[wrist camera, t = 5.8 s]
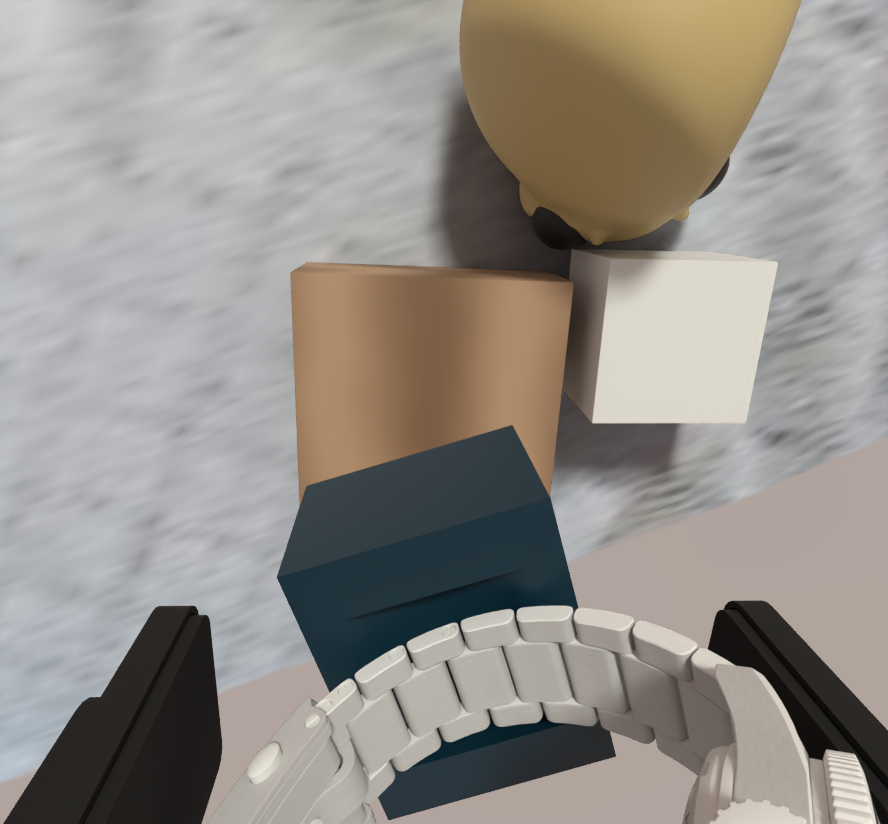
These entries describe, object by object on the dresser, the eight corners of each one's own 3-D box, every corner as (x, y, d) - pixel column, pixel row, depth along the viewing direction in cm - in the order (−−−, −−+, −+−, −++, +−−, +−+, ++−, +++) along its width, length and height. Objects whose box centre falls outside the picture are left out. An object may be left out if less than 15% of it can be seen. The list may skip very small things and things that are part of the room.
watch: (651, 614, 14) (1441, 1894, 3) (317, 709, 14) (84, 2196, 4) (606, 392, 12) (2110, 1751, 1) (221, 506, 12) (-892, 2419, 2)
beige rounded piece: (458, 145, 27) (532, 346, 23) (389, -202, 16) (508, 71, 12) (673, 71, 26) (788, 265, 22) (759, -346, 15) (1025, -112, 11)
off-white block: (558, 385, 27) (592, 423, 22) (570, 248, 25) (610, 258, 20) (686, 386, 27) (745, 422, 23) (708, 251, 26) (777, 261, 21)
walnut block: (313, 484, 28) (300, 528, 24) (307, 262, 24) (290, 272, 21) (526, 485, 28) (546, 528, 25) (547, 271, 25) (573, 282, 21)
